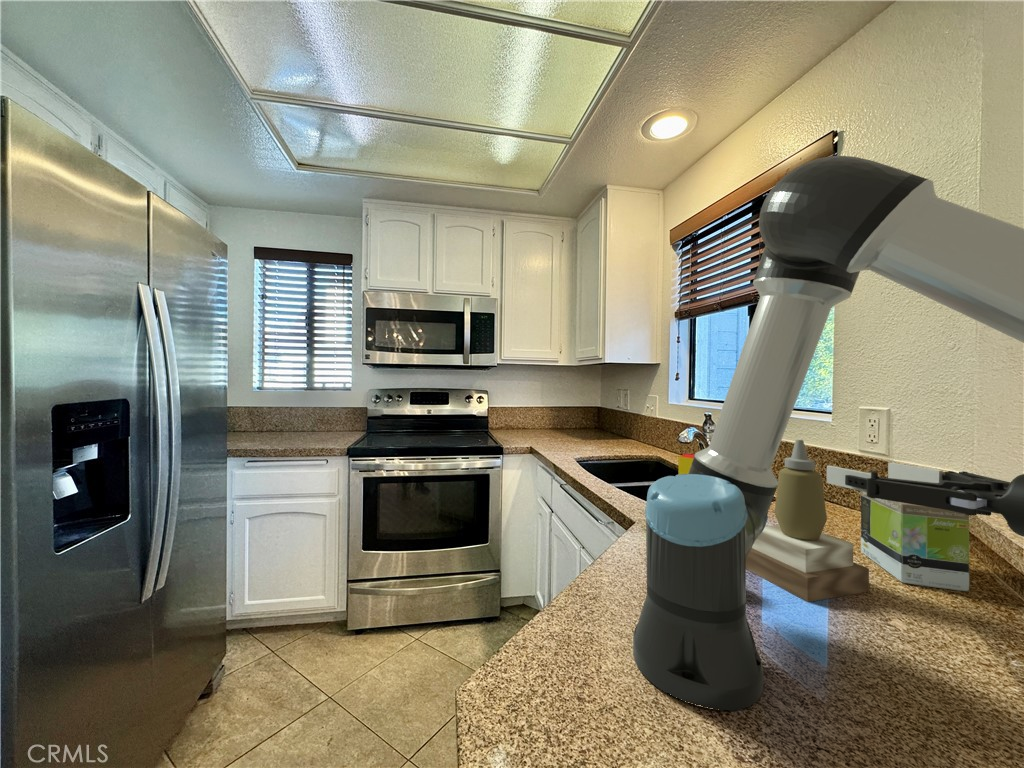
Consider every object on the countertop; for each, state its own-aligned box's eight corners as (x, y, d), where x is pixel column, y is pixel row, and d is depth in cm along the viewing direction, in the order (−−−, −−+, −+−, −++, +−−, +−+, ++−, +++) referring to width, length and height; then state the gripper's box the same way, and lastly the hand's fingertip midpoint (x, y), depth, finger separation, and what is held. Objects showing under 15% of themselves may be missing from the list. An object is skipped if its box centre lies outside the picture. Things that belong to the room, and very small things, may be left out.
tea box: (973, 593, 69) (972, 508, 69) (900, 584, 72) (899, 503, 73) (917, 558, 83) (916, 488, 84) (858, 552, 87) (858, 484, 87)
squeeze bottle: (824, 532, 76) (823, 439, 76) (830, 547, 69) (829, 444, 69) (773, 525, 80) (773, 436, 80) (775, 537, 73) (774, 441, 74)
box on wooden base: (807, 601, 66) (807, 554, 66) (739, 565, 80) (739, 525, 80) (869, 591, 70) (868, 545, 70) (794, 558, 83) (793, 520, 83)
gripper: (1001, 559, 40) (800, 500, 61) (1135, 538, 47) (913, 490, 67) (1002, 486, 40) (801, 451, 61) (1135, 474, 47) (913, 447, 67)
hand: (859, 472), depth 64 cm, fingers open, 13 cm apart
